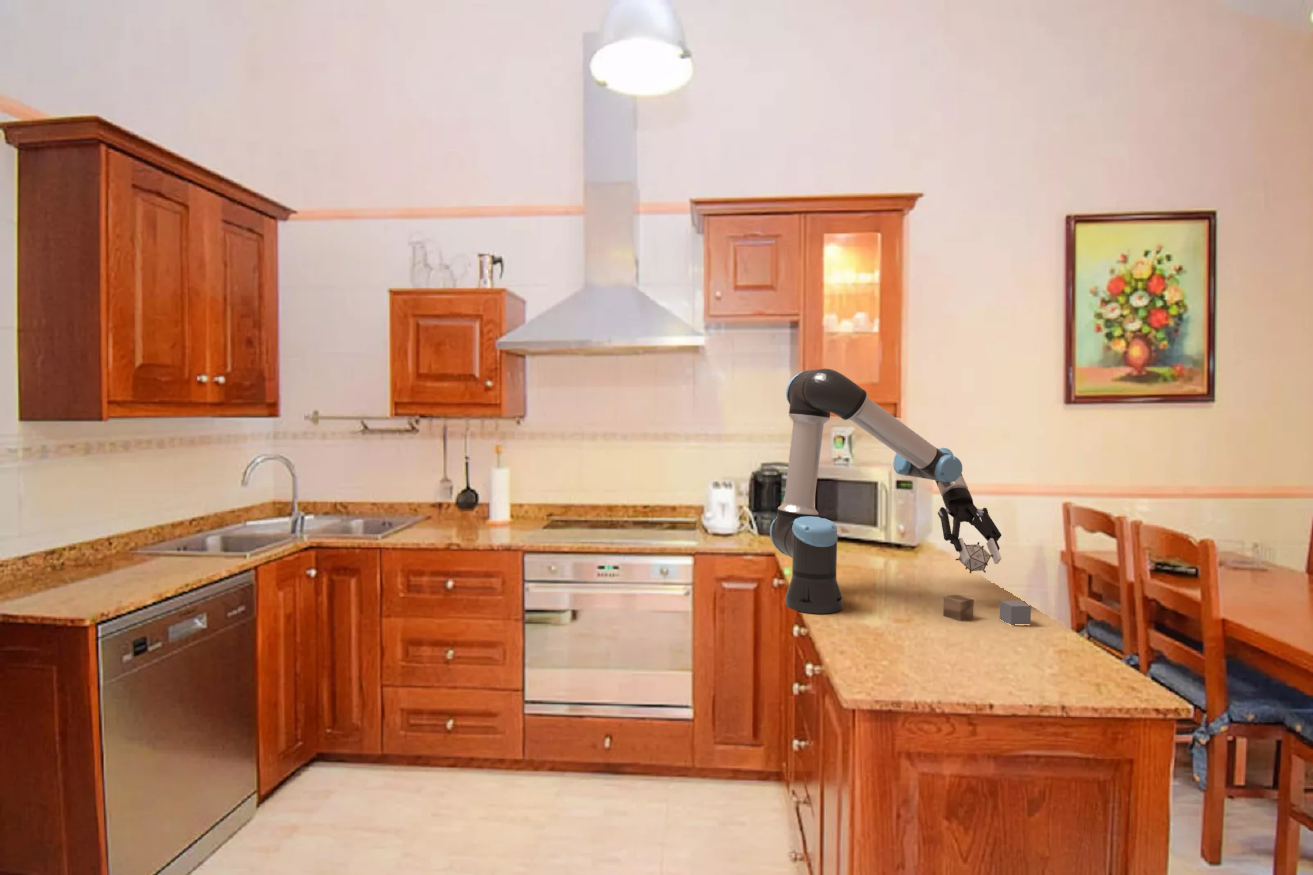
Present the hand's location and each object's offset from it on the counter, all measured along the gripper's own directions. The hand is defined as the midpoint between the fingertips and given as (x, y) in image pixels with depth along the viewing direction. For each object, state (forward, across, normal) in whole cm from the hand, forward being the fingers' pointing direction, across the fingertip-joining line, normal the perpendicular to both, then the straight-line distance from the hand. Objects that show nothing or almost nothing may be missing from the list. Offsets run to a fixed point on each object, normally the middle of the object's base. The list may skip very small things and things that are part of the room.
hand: (982, 561), depth 182 cm
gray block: (+18, -2, 0) cm, 18 cm away
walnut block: (+15, +10, -4) cm, 18 cm away
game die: (0, 0, -5) cm, 5 cm away
